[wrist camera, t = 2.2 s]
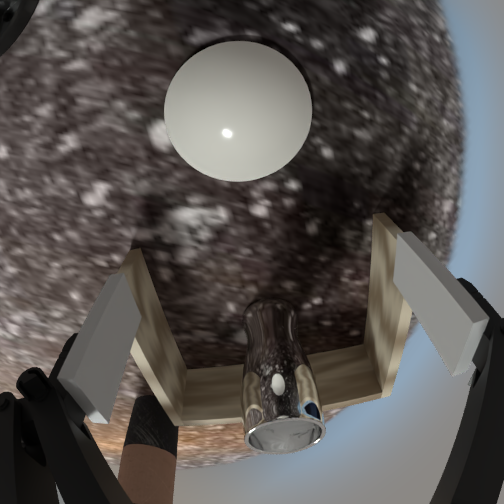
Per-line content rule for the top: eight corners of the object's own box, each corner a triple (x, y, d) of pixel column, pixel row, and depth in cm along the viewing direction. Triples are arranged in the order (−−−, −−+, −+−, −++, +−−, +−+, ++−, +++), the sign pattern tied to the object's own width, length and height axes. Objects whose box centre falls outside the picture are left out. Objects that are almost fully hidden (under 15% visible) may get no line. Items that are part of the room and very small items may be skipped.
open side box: (129, 249, 30) (103, 299, 23) (383, 212, 30) (422, 252, 23) (181, 375, 40) (174, 426, 33) (371, 348, 39) (390, 395, 32)
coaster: (154, 57, 22) (152, 57, 21) (301, 35, 22) (302, 34, 21) (181, 189, 28) (180, 192, 27) (316, 169, 27) (318, 171, 27)
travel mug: (128, 410, 44) (106, 521, 27) (140, 388, 41) (116, 515, 24) (171, 425, 46) (161, 534, 29) (188, 405, 43) (179, 529, 26)
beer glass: (291, 343, 38) (311, 455, 24) (233, 337, 37) (234, 454, 24) (308, 298, 34) (342, 416, 21) (244, 289, 33) (251, 415, 20)
